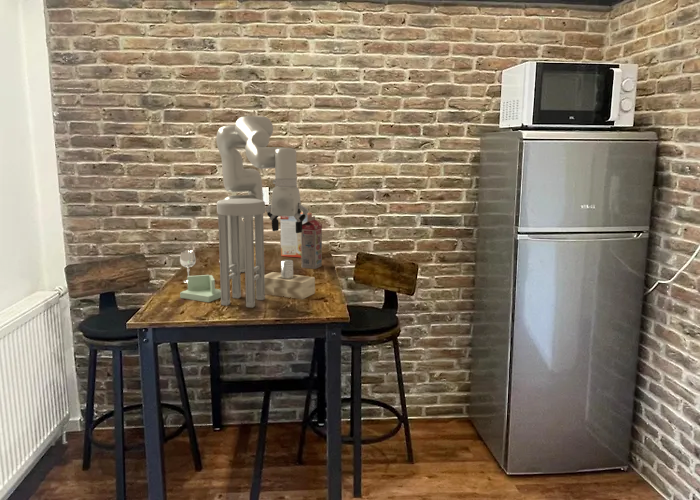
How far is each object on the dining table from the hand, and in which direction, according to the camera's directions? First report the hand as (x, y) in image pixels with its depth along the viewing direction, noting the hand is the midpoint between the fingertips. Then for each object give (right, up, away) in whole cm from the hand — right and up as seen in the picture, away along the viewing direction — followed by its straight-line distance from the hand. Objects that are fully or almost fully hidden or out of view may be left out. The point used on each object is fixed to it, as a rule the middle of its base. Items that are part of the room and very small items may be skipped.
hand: (287, 231), depth 209 cm
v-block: (-30, -23, -1) cm, 38 cm away
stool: (-14, -25, -7) cm, 29 cm away
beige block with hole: (0, -22, +5) cm, 23 cm away
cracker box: (-3, -10, +69) cm, 70 cm away
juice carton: (+6, -14, +47) cm, 50 cm away
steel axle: (0, -22, +5) cm, 23 cm away
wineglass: (-41, -19, +20) cm, 49 cm away
